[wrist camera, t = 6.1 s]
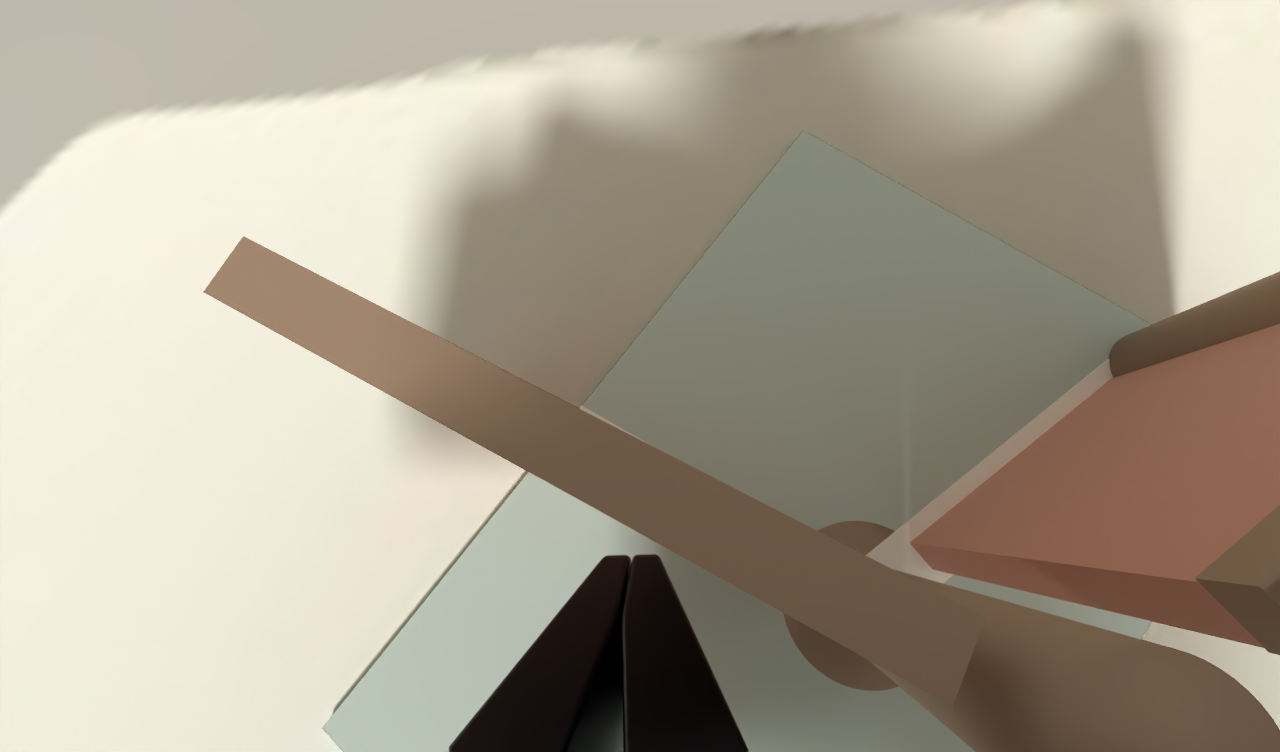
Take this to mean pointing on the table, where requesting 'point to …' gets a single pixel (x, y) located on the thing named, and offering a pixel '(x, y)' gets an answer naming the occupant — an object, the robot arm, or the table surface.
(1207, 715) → the swing panel
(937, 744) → the mat
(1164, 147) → the table surface
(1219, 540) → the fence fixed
